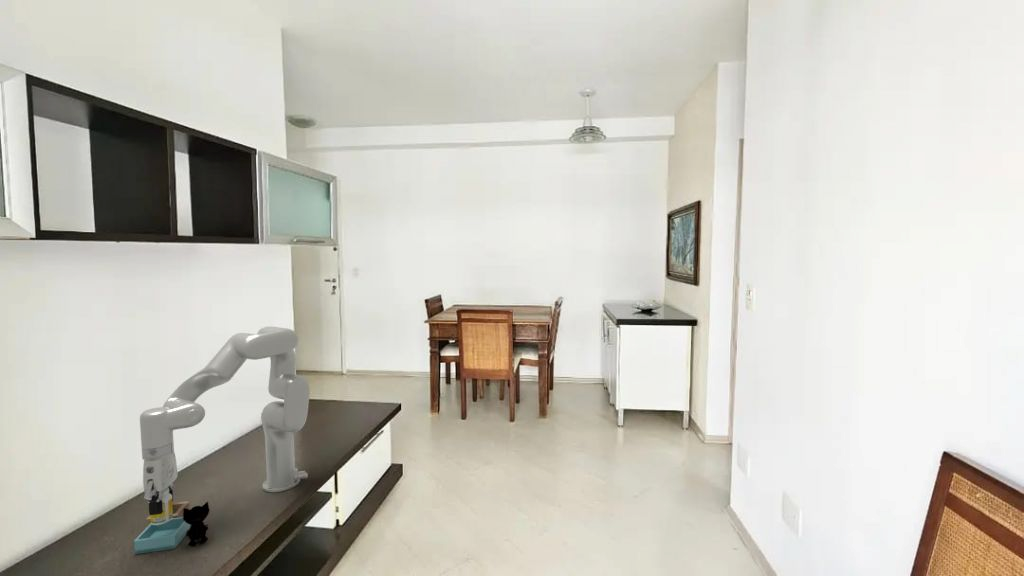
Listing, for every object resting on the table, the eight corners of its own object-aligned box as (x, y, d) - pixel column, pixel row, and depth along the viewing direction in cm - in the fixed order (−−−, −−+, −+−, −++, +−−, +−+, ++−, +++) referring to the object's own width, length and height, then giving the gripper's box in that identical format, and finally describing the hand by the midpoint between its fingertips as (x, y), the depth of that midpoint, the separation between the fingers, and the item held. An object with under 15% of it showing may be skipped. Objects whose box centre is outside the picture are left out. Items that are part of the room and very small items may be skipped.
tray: (191, 528, 142) (190, 516, 142) (175, 548, 132) (174, 535, 132) (153, 533, 140) (152, 521, 140) (134, 554, 130) (133, 541, 130)
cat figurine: (211, 532, 140) (209, 495, 139) (213, 544, 134) (210, 505, 134) (183, 541, 136) (180, 503, 135) (183, 553, 130) (181, 514, 129)
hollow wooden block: (189, 510, 152) (189, 501, 152) (177, 525, 144) (176, 515, 143) (160, 514, 150) (159, 504, 150) (146, 529, 142) (145, 519, 141)
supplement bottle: (157, 527, 132) (155, 496, 131) (146, 523, 134) (144, 492, 134) (177, 518, 137) (175, 487, 136) (166, 513, 139) (165, 483, 138)
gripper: (157, 461, 127) (161, 522, 128) (185, 437, 143) (188, 492, 144) (126, 464, 125) (130, 526, 126) (158, 439, 141) (162, 495, 143)
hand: (161, 507), depth 135 cm, fingers closed on supplement bottle, 5 cm apart
